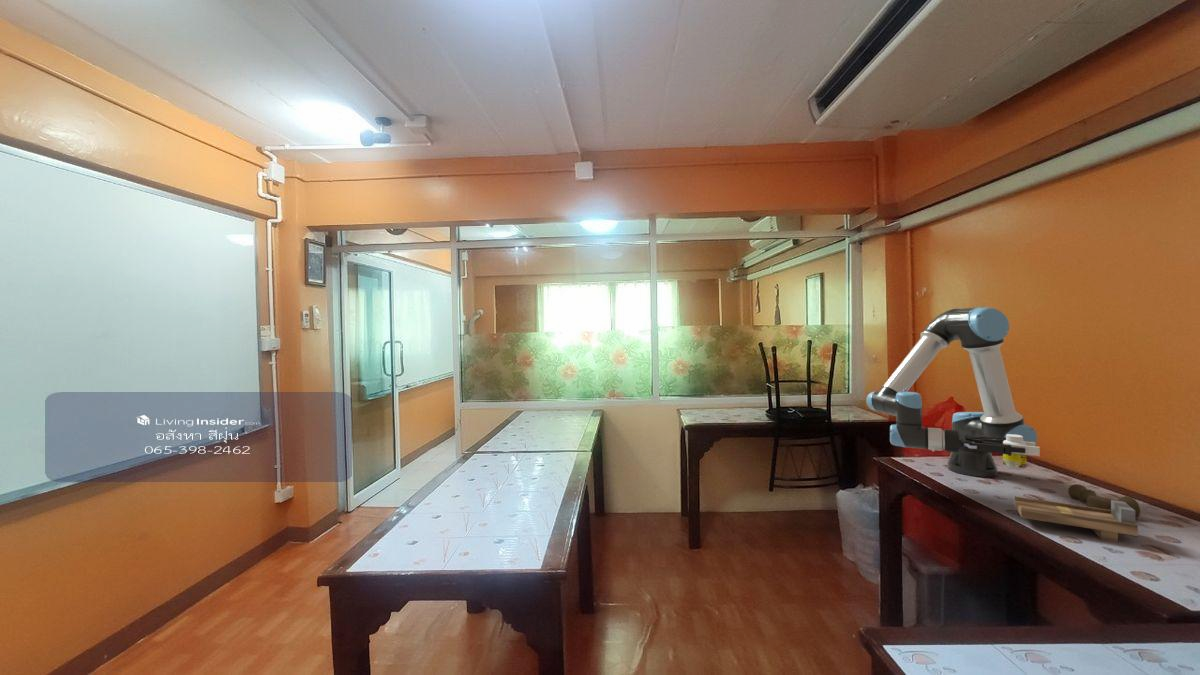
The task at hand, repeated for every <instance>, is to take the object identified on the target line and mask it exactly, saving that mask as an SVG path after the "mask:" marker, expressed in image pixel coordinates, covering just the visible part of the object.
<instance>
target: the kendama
mask: <svg viewBox="0 0 1200 675" xmlns="http://www.w3.org/2000/svg"><path fill="white" fill-rule="evenodd" d="M1067 493H1068V496H1069V497H1070V498H1071V499H1074V500H1077V501H1079V500H1080V501H1081V502H1083V503H1084V504H1085V503H1086V507H1093V508H1100V509H1107V510H1111V500H1107V499H1104V498H1101V497H1099V496H1098V495H1097V493H1096V492H1095V491H1094V490H1092V489H1087V487H1086V486H1085V485H1082V484H1078V483H1077V484H1073V485H1072V484H1071V485H1070V486H1069V487H1068V488H1067ZM1114 501H1122V502H1125V503H1127V504H1128V505H1129V506H1130V507H1131V508H1133V509H1134V510H1135V519H1138V518H1139V517H1140V515H1141V508H1140V505H1139V502H1138V501H1137V500H1136V499H1135V498H1133V497H1131V496H1127V495H1125V496H1121V497H1120V498H1119V499H1116V500H1114Z"/></svg>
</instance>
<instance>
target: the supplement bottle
mask: <svg viewBox="0 0 1200 675" xmlns="http://www.w3.org/2000/svg"><path fill="white" fill-rule="evenodd" d="M1022 441H1023V436H1021V435H1015V434H1007V435H1006V440H1004V441H1003V444H1006V445H1011V444H1014V445H1024V446H1026V443H1025V442H1022ZM1002 465H1003V466H1004V467H1006V468H1008V469H1013V470H1025V469H1027V455H1023V454H1013V453H1011V456H1008V455H1006V454H1002Z"/></svg>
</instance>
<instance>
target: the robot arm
mask: <svg viewBox="0 0 1200 675" xmlns="http://www.w3.org/2000/svg"><path fill="white" fill-rule="evenodd" d="M1009 330H1010V322H1009V319H1008V318H1007V316H1006V314H1004V313H1003V311H1001V310H999V309H997V308H994V307H984V306H977V307H966V308H952V309H951V308H950V309H948V310H945V311H944V312H942V313H940V314H939V315H937V316H936V317H935V318H933V319H932V320H931V321H930V322H929V323H928V324H927V325H926V326H925V327H924V329H923V330H922V331H921V332H920V336H919V337H920V338H919V340H918V341H917V342H916V343H915V345H914V346H913V347H912V348H911V350H910V351H909V352H908V354H907V355H906V356H905V357H904V359H903V360H902V361H901V362H900V364H899V365H898V366H897V368H895V369H894V371H893V373H892V374H891V375H890V376H889V378H888V379H887V380H886V381H885V382H884V383H883V385H882V387H881V388H879V390H878V391H877V390H876V391H871V392H869V393H868V395H867V396H866V398H865V400H866V401H865V403H866V405H867V407H868V408H869V409H870V410H872V411H875V412H878V413H882V414H886V415H890V416H894V417H895V420H896V422H895V424H891V425H890V426H889V442H890V444H891V445H892V446H896V447H902V448H910V449H919V450H920V449H923V450H931V452H936V451H940V452H942V451H943V450H944V451H945V452H947V453H950V455H949V457H948V460H947V462H946V465H947V469H948V470H949V471H952V472H955V473H958V474H962V475H966V476H973V477H980V478H981V477H983V478H985V477H986V478H988V477H989V478H990V477H991V478H992V477H996V476H998V467H997V464H996V461H995V459H994V457H993V455H992V454H1000V455H1003V454H1006V455H1008V456H1011V453H1013V454H1023V455H1026V456H1033V457H1040V456H1041V454H1040V452H1041V447H1040V446H1036V445H1037V442H1038V433H1037V432H1036V430H1035V429H1034V428H1033V427H1032V426H1030V425H1028V424H1025V419H1024V417H1023V415H1022V414H1020V413H1019V412H1017V411H1016V408H1015V403H1014V401H1013V396H1012V391H1011V387H1010V384H1009V381H1008V376H1007V373H1006V369H1005V368H1006V367H1005V363H1004V361H1003V360H1004V359H1003V356H1002V352H1001V346H1002V345H1003V344H1004V343H1005V341H1004V338H1006V337H1007V336H1008V334H1009ZM954 341H960V345H961V348H962V349H964V350H965V351H967V352H968V354H969V359H970V363H971V366H972V370H973V373H974V374H973V375H974V377H975V382H976V385H977V390H978V394H979V397H980V402H981V405H982V410H983V411H959V412H955V413H953V414H952V419H951V420H952V421H951V429H950V428H949V429H944V430H943V429H942V428H938V427H924V426H923V403H922V402H923V401H922V394H920V393H919V392H915V391H909V390H910V389H911V387H912V386H913V385H914V383H916V381H917V380H918V379H919V377H920V376H921V375H922V374H923V372H924V371H925V370H926V368H927V367H928V366H929V365H930V363H931V362H933V360H934V359H935V357H936V356H937V355H938V354H939V353H940V351H941V350H942V349H946V348H947V347H948V346H949V345H950V343H952V342H954ZM1007 434H1015V435H1021V436H1023V441H1022V442H1025V443H1026V446H1024V445H1014V444H1011V445H1006V444H1003V441H1004V440H1006V435H1007Z"/></svg>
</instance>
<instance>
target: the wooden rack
mask: <svg viewBox="0 0 1200 675" xmlns="http://www.w3.org/2000/svg"><path fill="white" fill-rule="evenodd" d="M1110 501H1111V510H1107V509H1100V508H1093V507H1088V506H1087V505H1078V504H1071V503H1070V504H1069V503H1065V502H1064V503H1063V502H1055V501H1051V500H1041V499H1035V498H1029V497H1028V498H1027V497H1020V496H1014V507H1015V509H1016V510H1017V513H1018V514H1019V515H1020V517H1021V518H1022V519H1029V520H1034V521H1042V522H1048V523H1052V524H1053V523H1054V524H1059V525H1067V526H1072V527H1073V526H1074V527H1078V528H1079V527H1080V528H1084V529H1091V531H1093V532H1094V533H1095V535H1097V536H1098V538H1099V539H1100V540H1102V541H1107V542H1114V543H1118V542H1119V534H1123V535H1128V536H1129V535H1130V536H1135V537H1136V536H1137V537H1138V536H1139V525H1138V524H1137V523H1136V518H1135V510H1134V509H1133V508H1131V507H1130V506H1129V505H1128V504H1127V503H1125V502H1122V501H1115V500H1113V499H1111V500H1110Z"/></svg>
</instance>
